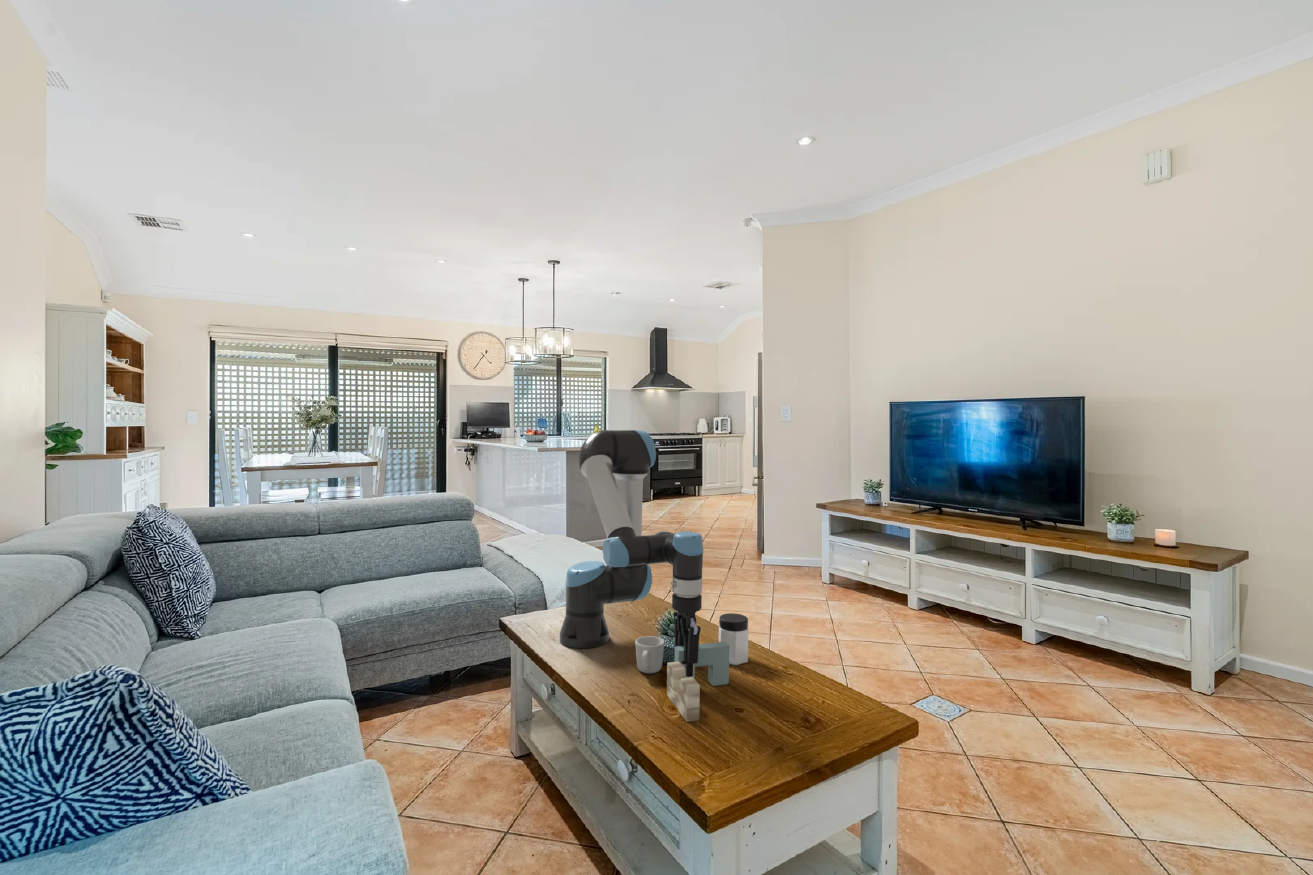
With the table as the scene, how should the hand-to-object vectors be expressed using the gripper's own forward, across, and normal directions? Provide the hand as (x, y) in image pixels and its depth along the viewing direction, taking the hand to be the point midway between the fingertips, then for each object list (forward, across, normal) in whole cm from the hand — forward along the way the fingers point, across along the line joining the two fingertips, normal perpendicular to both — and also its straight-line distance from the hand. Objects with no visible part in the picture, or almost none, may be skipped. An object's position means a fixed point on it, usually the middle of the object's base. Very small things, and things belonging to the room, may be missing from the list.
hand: (685, 684), depth 153 cm
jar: (+1, -13, +20) cm, 23 cm away
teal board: (+1, 0, +4) cm, 5 cm away
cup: (+1, -11, -6) cm, 13 cm away
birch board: (+1, +10, -4) cm, 11 cm away
